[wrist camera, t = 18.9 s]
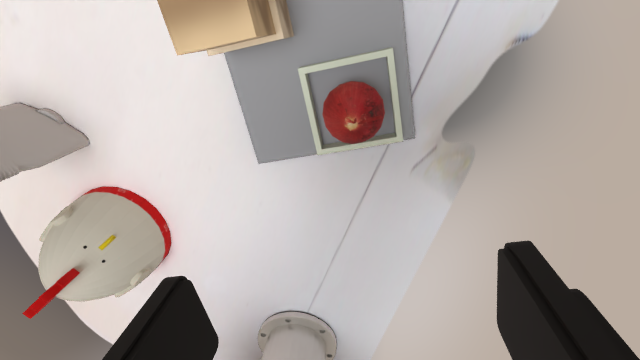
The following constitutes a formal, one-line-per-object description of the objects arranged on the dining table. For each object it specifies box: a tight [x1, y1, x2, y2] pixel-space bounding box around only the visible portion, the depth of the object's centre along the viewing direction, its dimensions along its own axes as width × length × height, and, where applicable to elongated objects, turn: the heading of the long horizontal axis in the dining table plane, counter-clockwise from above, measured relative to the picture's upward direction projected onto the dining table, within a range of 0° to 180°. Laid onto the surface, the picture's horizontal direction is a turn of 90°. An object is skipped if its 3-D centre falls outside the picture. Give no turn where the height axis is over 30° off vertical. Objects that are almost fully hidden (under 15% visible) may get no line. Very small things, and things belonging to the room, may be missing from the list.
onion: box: [322, 81, 385, 144], centre depth 31 cm, size 6×6×8 cm
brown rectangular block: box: [207, 0, 294, 56], centre depth 29 cm, size 7×7×5 cm
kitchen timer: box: [23, 187, 171, 318], centre depth 40 cm, size 14×14×15 cm
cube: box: [157, 0, 276, 55], centre depth 24 cm, size 6×6×6 cm
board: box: [224, 0, 415, 164], centre depth 33 cm, size 22×18×1 cm
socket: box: [298, 47, 403, 155], centre depth 34 cm, size 9×9×2 cm
